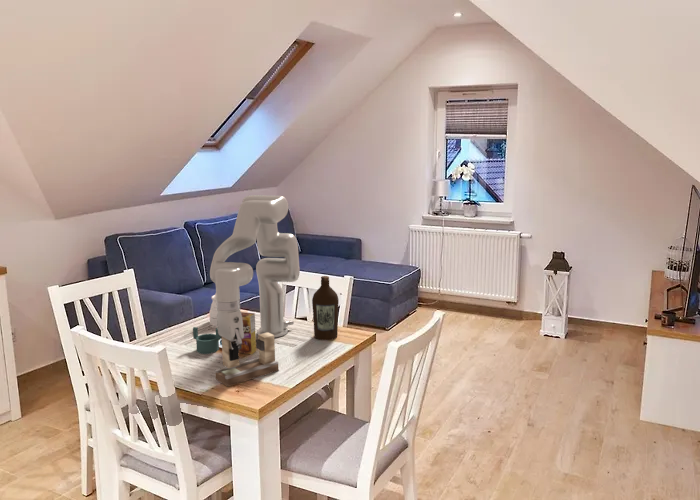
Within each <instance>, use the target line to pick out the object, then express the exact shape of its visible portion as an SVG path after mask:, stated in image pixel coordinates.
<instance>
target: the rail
mask: <svg viewBox="0 0 700 500" xmlns="http://www.w3.org/2000/svg"><path fill="white" fill-rule="evenodd" d="M257 336H258V339H257V338H256V350H258V357H256V358H252V359H249V360H246V361H245V360H244V361H240V362H239V366H235V367H232V368H227V367H226V366H223V367H219V368H216V369H215V371H214V374H215V380H216V381H219V382H220V384H222V385H225V386H226V387H230V386H234V385H237V384H241V383H243V382H245V381H249V380H253V379H256V378H259V377H262V376H266V375H270V374H272V373H276V372H279V369H280V368H279V361H277V360H276V352H275V351H276V348H275V347H276V346H275V345H276V343H275V337H274V335H273V334H271V333H269V332H267V333H263V334H260V335H258V334H257Z"/></svg>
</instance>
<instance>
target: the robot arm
mask: <svg viewBox="0 0 700 500" xmlns="http://www.w3.org/2000/svg"><path fill="white" fill-rule="evenodd" d="M288 212H289V201H288V200H287V198H286V197H285V196H282V195H263V194H261V195H260V194H259V195H258V194H257V195H256V194H255V195H247V196H245V197H244V198H243V199H242V203H241V204H240V205H239V208H238V212H237V216H236V219H235V224H234V227H233V231H232V235H230V236H229V237H228V238H226V239H225V240H224V241H223V242H222V243H221V244H220V245H219V246H218V247H217V248H216V250H215V252H214V253H213V255H212V256H213V257H212V259H211V260H212V261H211V264H210V269H209V277H210V281H212V282H213V283H214V284H215V283H216V284H215V294H216V300H217V311H218V313H217V327H216V328H218V334H219V335H220V338H221V339H220V341H221V344H222V337H224V338H226V339H228V340H229V342H230V349H229V355H230V361H233V360H237V359H239V360H240V353H239V345H240V344H241V343H242V340H241V339H243V338H244V331H243V321H242V315H241V312H242V311H241V300H240V299H241V298H240V297H241V296H240V294H241V293H240V287H243V286H245V285H248V284H250V282H251V281H252V280H253V278H254V269H253V267H252V266H251V265H250V264H249V263H245V262H235V261H233V262H232V261H229V262H228V261H227V259H228V258H229V257H230V256H232V255H233V254H235V253H237V252H240V251H242V250H245V249H247V248H250V247H252V246H253V245H254V244H257V251H258V253H259V254H260V256H263V257H265V258H261V259H260V260H258V262H257V263H256V266H255V271H256V276H257V277H256V278H257V281H258V289H259V290H258V291H259V313H260V314H259V315H260V317H259V318H260V327H259V328H258V329H257V331H256V334H257V336H258V335H260V334H263V333H267V332H269V333H271V334H273V335H274V338H279V337H284V336H285V335H286V334H288V326H293V325H294V324H295V323H294V320H293V319H291V320H287V319H284V292H283V288H282V286H281V285H280V283H294V282H297V280H299V278H300V271H301V270H300V268H301V267H300V257H299V245H298V240H297V238H296V236H295V235H294V234H292V233H290V232H289V233H288V232H287V233H286V232H284V233H283V232H279V230H278V223H280V222H281V221H282V220H283V219H285V218H286V216H287V215H288ZM233 338H236V339H233ZM234 341H236V342H235V343H234V344H233V342H234Z"/></svg>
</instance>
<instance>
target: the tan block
mask: <svg viewBox="0 0 700 500" xmlns="http://www.w3.org/2000/svg"><path fill="white" fill-rule="evenodd" d="M233 339H236V338H233ZM221 341H222V343H221V351H222V353H221V354H222V366H223V367H227V368H232V367H235V366H239V363H240V358H239V359H237V360H233V361H230V355H229V349H230V342H229V340H228V339H226V338H224V337H222V340H221ZM235 342H236V341H234V342H233V344H234V343H235ZM239 349H242V345H241V344H240V345H239Z"/></svg>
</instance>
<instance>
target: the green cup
mask: <svg viewBox="0 0 700 500" xmlns="http://www.w3.org/2000/svg"><path fill="white" fill-rule="evenodd" d="M198 329H199V328H198V327H197V326H193V327H192V336H193V339H194V340H195V342H196V352H197V353H198V354H202V355H203V354H204V355H208V354H209V355H210V354H214V353H217V352H218V351H220V343H219V342H220V341H221V338H220V335H219V334H218V328H217V327H216V328H215V333H204V334H199V330H198Z"/></svg>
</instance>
